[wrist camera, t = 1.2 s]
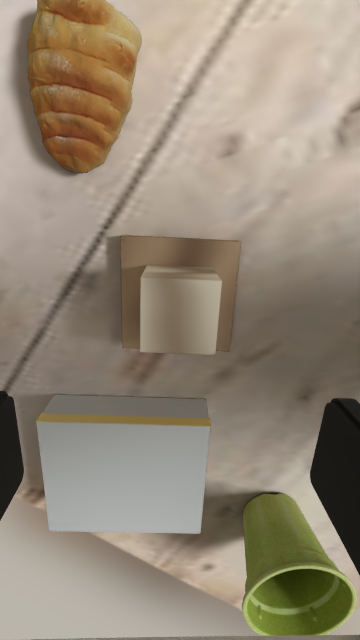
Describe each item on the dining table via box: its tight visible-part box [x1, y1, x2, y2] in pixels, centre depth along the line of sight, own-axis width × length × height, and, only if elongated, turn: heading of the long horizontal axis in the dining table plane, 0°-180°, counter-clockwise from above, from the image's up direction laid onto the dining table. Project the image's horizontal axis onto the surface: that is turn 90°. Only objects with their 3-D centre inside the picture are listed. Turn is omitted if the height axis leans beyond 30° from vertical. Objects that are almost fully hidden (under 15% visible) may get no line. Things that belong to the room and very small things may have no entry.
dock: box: [36, 394, 211, 534], centre depth 29 cm, size 14×12×4 cm
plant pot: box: [242, 493, 356, 636], centre depth 30 cm, size 9×9×9 cm
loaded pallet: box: [121, 235, 241, 355], centre depth 23 cm, size 9×9×6 cm
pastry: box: [28, 0, 142, 173], centre depth 20 cm, size 9×7×4 cm
